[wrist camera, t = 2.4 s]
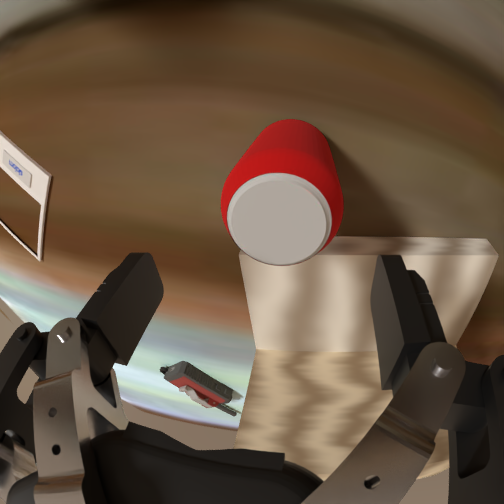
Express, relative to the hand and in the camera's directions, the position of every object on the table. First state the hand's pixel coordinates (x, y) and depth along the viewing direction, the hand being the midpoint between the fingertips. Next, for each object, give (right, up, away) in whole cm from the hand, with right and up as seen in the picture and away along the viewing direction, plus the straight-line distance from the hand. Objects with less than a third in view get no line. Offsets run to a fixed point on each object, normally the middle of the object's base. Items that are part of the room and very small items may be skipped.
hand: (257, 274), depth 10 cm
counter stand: (+13, -8, +22) cm, 27 cm away
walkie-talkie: (-8, -25, +40) cm, 47 cm away
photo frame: (-36, +9, +22) cm, 43 cm away
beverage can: (+3, +9, +13) cm, 16 cm away
